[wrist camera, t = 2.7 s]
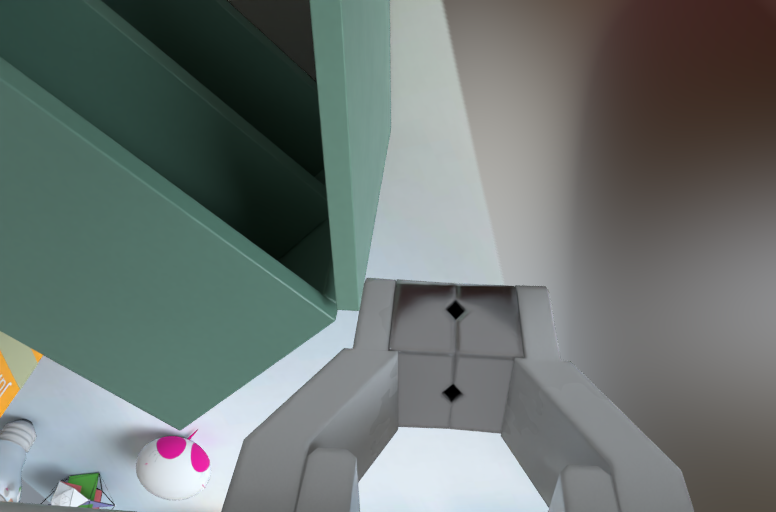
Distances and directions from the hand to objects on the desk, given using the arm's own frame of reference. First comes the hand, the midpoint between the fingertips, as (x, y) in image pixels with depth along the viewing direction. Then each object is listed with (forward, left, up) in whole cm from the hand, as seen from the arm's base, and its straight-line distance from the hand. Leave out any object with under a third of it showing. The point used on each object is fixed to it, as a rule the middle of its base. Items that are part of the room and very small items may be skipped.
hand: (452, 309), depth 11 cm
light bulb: (+63, +3, -29) cm, 69 cm away
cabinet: (+18, -5, -28) cm, 34 cm away
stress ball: (+52, +16, -29) cm, 62 cm away
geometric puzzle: (+68, +13, -29) cm, 75 cm away
